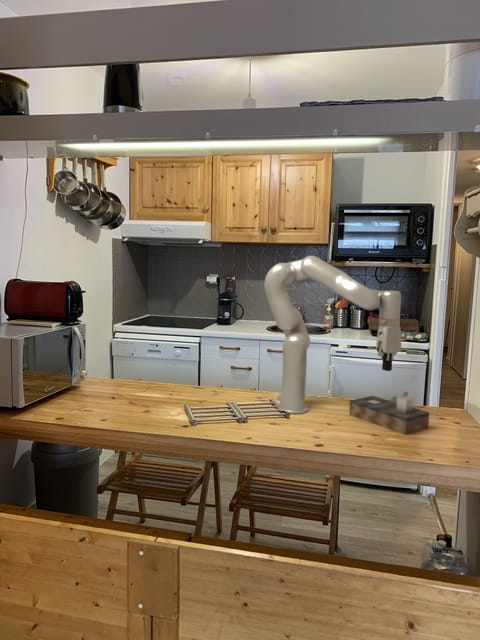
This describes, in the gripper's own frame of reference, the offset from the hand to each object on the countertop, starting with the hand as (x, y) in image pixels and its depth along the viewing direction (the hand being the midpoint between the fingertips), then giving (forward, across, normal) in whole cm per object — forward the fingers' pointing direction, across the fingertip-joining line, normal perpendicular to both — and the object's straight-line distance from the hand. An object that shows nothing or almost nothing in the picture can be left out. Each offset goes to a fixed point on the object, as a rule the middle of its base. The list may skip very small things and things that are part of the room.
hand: (386, 370), depth 186 cm
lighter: (+20, +18, +6) cm, 27 cm away
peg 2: (+15, -1, -9) cm, 17 cm away
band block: (+20, -1, -2) cm, 20 cm away
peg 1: (+20, 0, +5) cm, 20 cm away
